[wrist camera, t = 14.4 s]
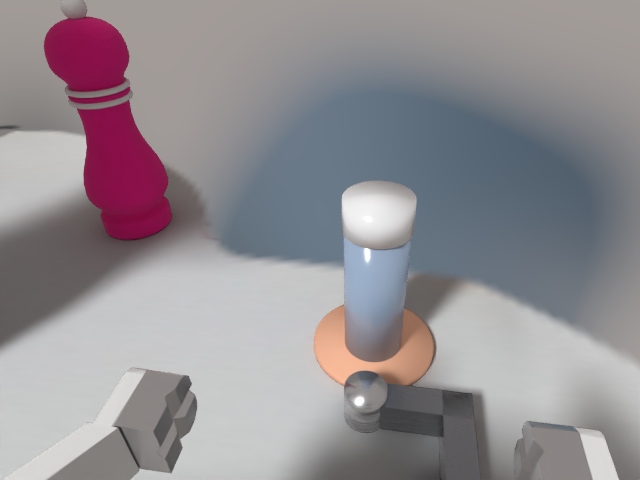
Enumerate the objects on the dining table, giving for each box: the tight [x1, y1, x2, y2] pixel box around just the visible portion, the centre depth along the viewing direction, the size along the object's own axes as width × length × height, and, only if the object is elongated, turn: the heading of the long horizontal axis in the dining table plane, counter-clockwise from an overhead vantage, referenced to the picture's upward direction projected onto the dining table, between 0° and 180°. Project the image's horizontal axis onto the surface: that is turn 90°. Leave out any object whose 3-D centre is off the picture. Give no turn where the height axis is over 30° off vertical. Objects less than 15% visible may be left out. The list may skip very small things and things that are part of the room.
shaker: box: [342, 181, 417, 362], centre depth 28 cm, size 4×4×11 cm
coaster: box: [314, 305, 434, 386], centre depth 31 cm, size 8×8×1 cm
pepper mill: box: [44, 0, 172, 240], centre depth 40 cm, size 7×7×20 cm
